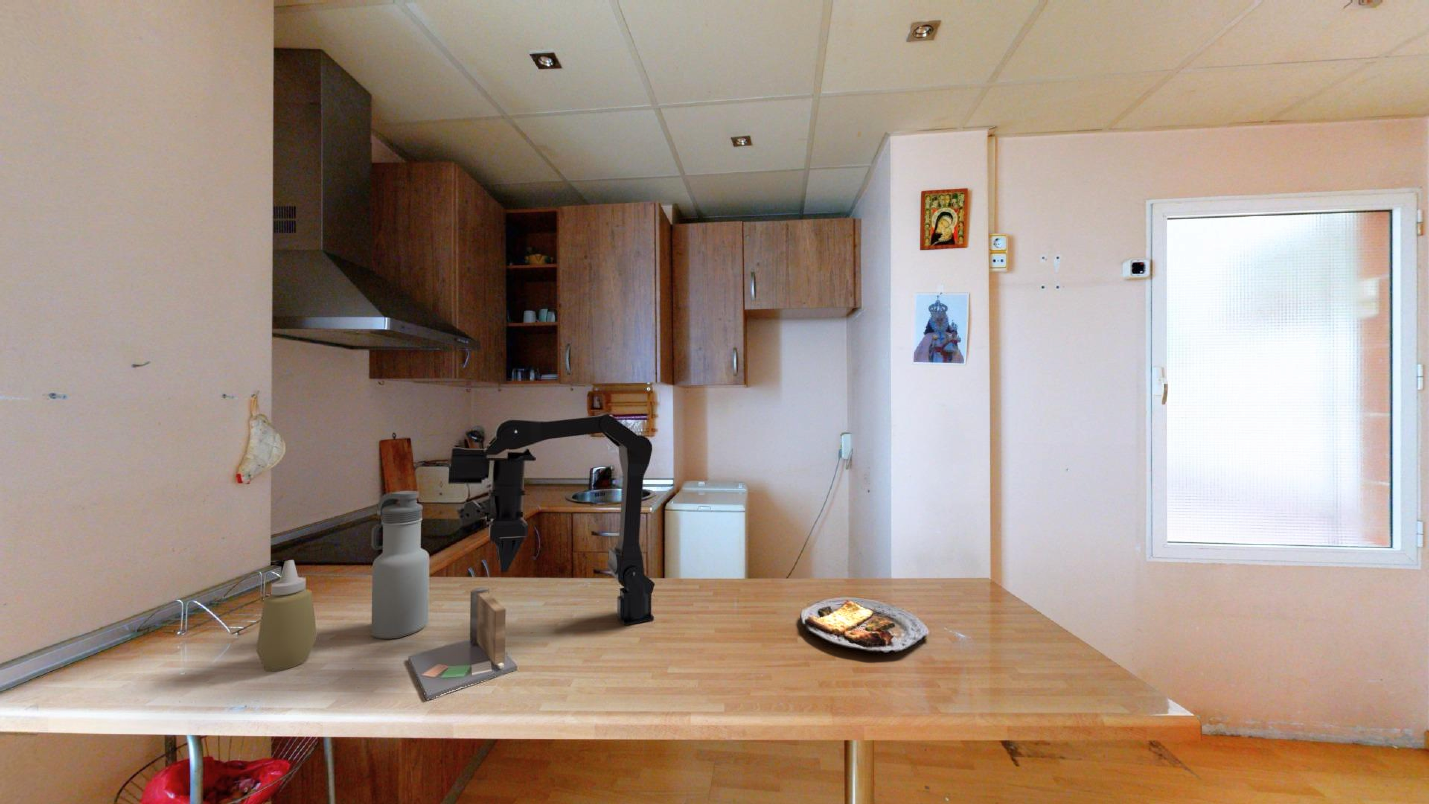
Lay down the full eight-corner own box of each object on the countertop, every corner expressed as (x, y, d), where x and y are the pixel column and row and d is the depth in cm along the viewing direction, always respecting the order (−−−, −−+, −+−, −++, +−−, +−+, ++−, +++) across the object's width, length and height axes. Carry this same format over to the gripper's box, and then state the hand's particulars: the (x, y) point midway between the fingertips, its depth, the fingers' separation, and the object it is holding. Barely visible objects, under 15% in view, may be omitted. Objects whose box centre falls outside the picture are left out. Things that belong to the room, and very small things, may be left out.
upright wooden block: (467, 640, 91) (468, 590, 91) (485, 635, 93) (486, 586, 93) (492, 671, 80) (492, 614, 80) (511, 664, 82) (512, 609, 82)
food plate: (881, 674, 82) (881, 653, 82) (777, 628, 99) (778, 611, 99) (944, 633, 98) (944, 616, 98) (846, 601, 116) (846, 586, 116)
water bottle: (358, 634, 96) (361, 494, 96) (406, 615, 105) (408, 487, 105) (392, 644, 92) (395, 497, 92) (439, 623, 101) (441, 490, 101)
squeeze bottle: (247, 680, 79) (249, 571, 80) (265, 658, 86) (267, 557, 87) (309, 668, 83) (311, 564, 83) (321, 648, 90) (323, 552, 91)
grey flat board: (408, 660, 86) (408, 655, 86) (488, 637, 95) (488, 632, 95) (427, 701, 74) (427, 695, 74) (517, 670, 83) (517, 664, 83)
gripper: (461, 478, 98) (455, 556, 97) (461, 490, 81) (453, 584, 80) (519, 478, 103) (514, 552, 102) (530, 489, 86) (524, 577, 85)
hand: (502, 565), depth 92 cm, fingers open, 9 cm apart
